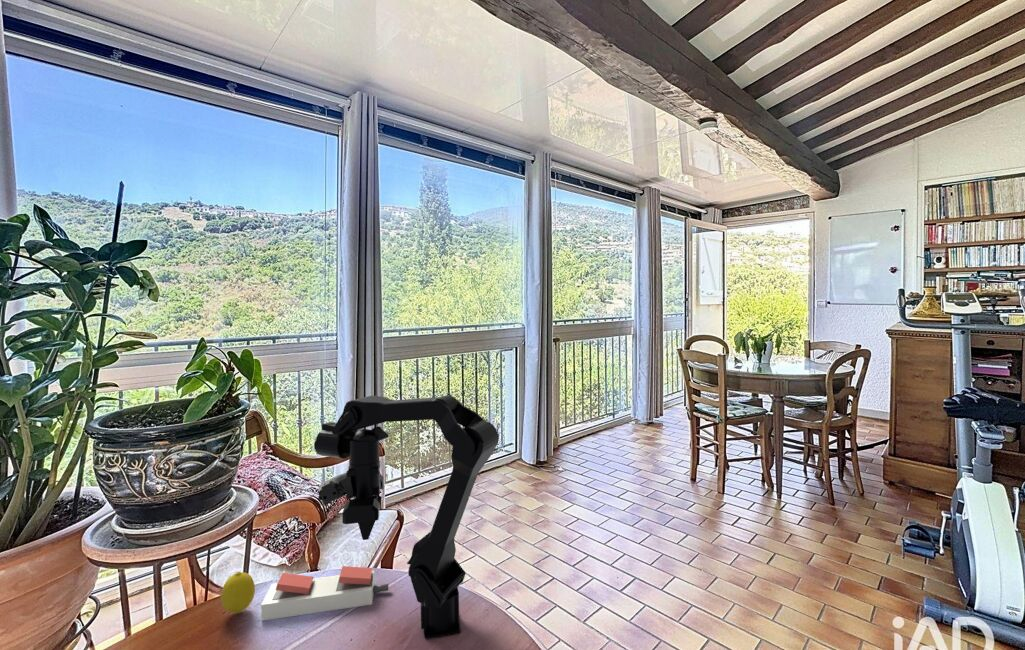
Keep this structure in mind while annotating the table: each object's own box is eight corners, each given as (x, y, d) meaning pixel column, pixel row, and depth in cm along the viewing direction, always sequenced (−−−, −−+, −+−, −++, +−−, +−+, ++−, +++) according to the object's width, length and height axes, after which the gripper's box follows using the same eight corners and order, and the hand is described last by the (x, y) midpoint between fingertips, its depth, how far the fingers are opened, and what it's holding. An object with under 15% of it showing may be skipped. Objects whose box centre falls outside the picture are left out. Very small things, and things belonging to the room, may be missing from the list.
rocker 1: (312, 582, 93) (313, 576, 93) (307, 594, 89) (309, 588, 89) (281, 578, 92) (282, 572, 92) (275, 590, 88) (277, 583, 88)
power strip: (389, 582, 98) (388, 568, 98) (387, 602, 91) (387, 586, 91) (272, 598, 93) (271, 583, 93) (261, 620, 86) (261, 604, 86)
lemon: (244, 622, 85) (243, 580, 85) (215, 622, 85) (214, 580, 85) (261, 604, 91) (260, 564, 91) (233, 604, 91) (232, 564, 91)
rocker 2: (371, 573, 95) (372, 568, 95) (369, 584, 92) (370, 578, 92) (341, 571, 94) (342, 566, 94) (338, 582, 90) (339, 576, 90)
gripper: (329, 450, 97) (330, 522, 98) (311, 480, 79) (312, 569, 79) (383, 446, 100) (384, 517, 100) (377, 475, 82) (378, 561, 82)
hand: (365, 538), depth 90 cm, fingers closed
